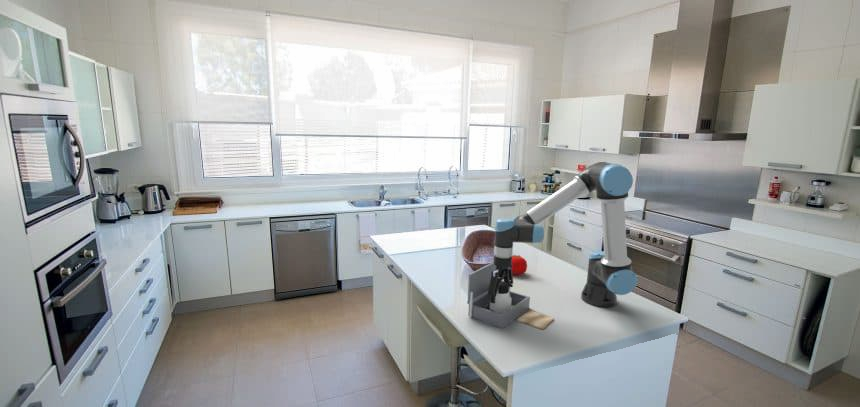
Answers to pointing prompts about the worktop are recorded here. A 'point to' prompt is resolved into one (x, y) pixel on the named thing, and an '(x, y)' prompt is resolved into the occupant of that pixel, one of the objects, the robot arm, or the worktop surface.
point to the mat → (535, 319)
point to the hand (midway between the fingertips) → (499, 305)
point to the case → (480, 299)
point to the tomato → (518, 265)
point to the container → (502, 299)
